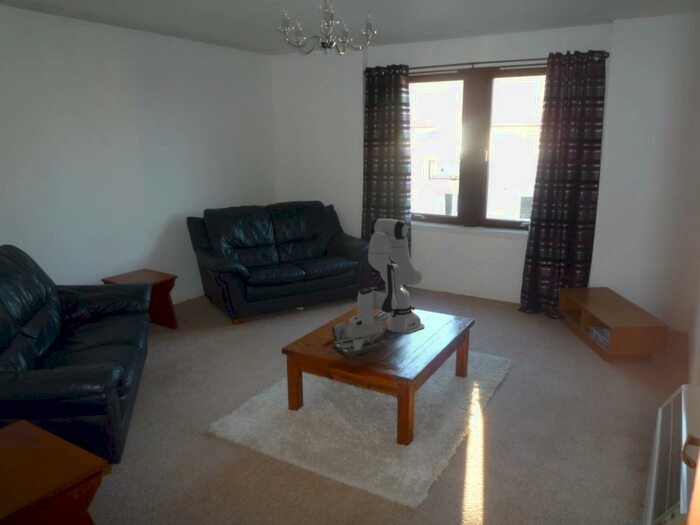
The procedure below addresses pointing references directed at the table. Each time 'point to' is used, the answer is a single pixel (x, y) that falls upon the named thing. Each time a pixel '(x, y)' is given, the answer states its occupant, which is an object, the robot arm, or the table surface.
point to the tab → (357, 342)
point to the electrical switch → (340, 332)
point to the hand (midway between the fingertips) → (365, 342)
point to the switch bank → (348, 349)
